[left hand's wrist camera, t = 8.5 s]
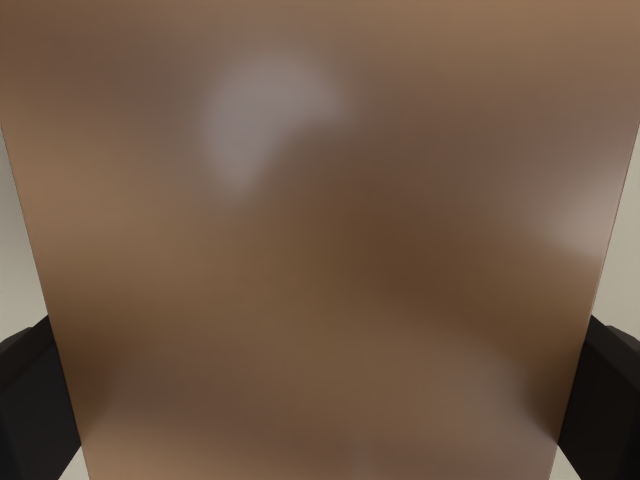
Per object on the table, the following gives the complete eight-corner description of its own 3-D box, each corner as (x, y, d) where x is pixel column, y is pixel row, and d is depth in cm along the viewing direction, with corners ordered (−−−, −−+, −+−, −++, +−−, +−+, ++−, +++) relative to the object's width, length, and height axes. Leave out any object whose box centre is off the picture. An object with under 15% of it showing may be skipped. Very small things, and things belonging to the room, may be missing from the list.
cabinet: (140, -273, 12) (-361, -1289, 3) (499, -272, 12) (1000, -1278, 3) (204, 320, 19) (100, 527, 10) (434, 320, 19) (538, 527, 10)
